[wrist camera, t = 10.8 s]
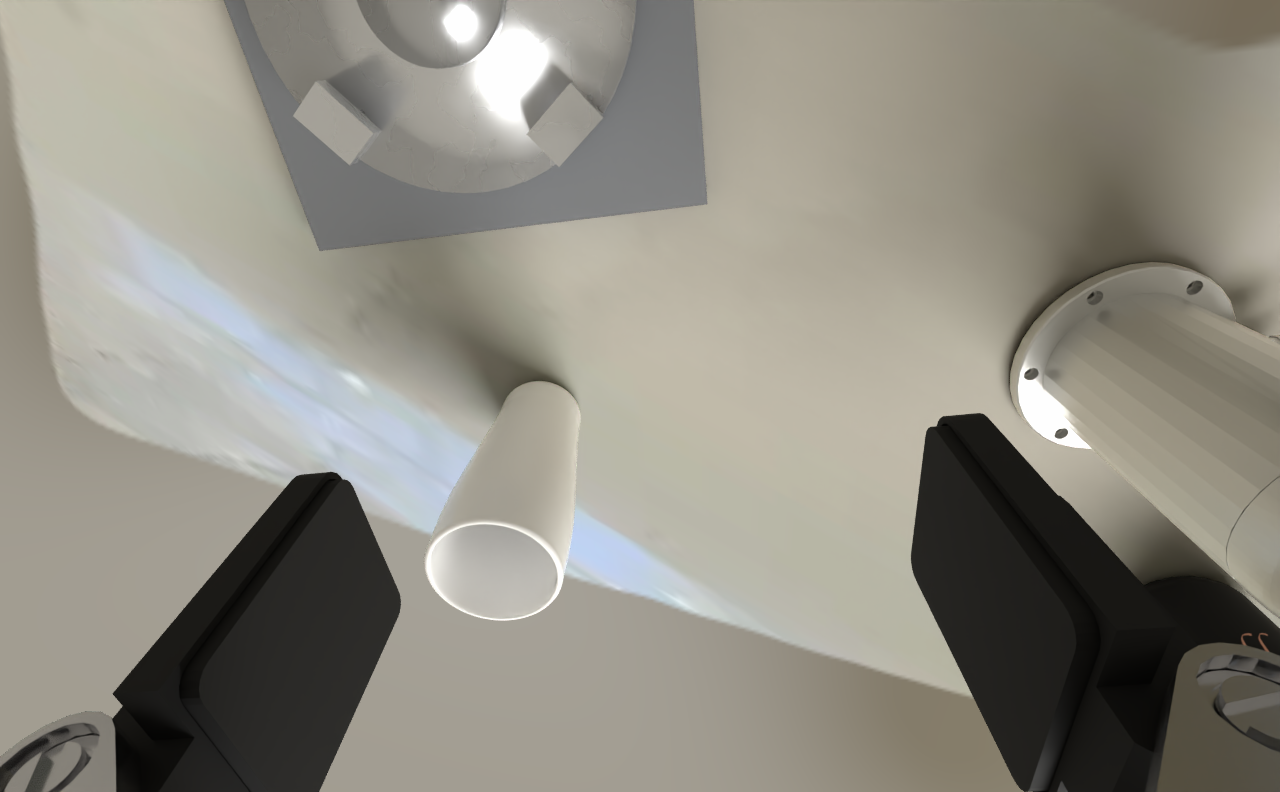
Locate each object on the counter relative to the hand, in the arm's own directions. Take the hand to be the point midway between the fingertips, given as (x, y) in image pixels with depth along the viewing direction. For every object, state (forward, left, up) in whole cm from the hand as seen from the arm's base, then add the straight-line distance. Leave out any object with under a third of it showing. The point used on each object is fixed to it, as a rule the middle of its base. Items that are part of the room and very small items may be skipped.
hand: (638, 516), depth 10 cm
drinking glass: (+9, +14, -28) cm, 33 cm away
